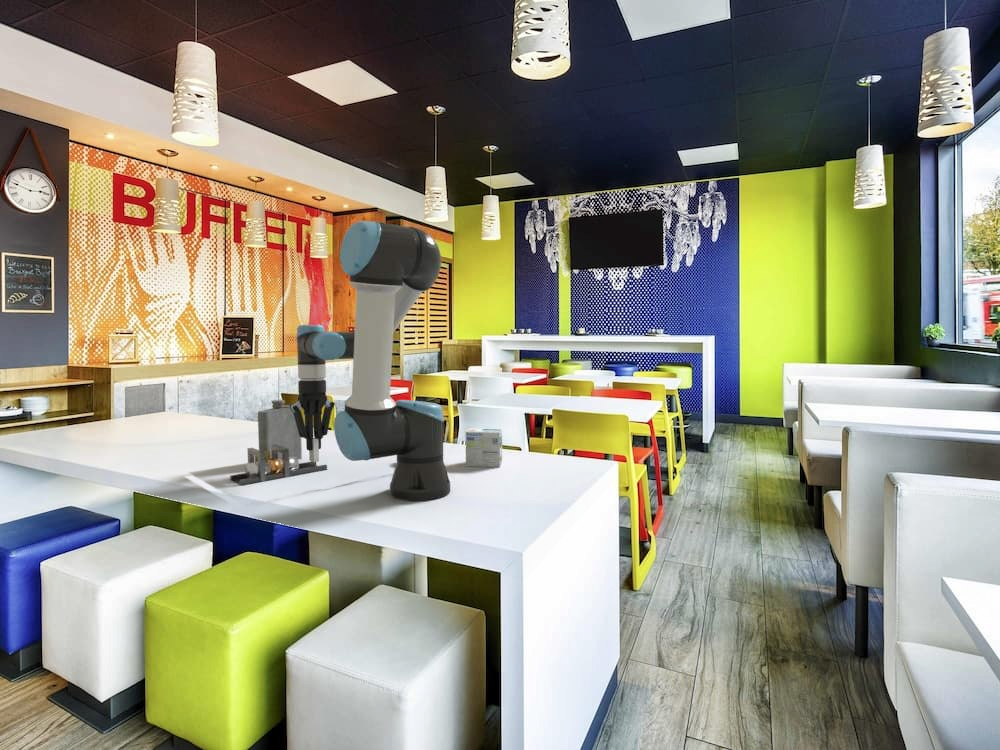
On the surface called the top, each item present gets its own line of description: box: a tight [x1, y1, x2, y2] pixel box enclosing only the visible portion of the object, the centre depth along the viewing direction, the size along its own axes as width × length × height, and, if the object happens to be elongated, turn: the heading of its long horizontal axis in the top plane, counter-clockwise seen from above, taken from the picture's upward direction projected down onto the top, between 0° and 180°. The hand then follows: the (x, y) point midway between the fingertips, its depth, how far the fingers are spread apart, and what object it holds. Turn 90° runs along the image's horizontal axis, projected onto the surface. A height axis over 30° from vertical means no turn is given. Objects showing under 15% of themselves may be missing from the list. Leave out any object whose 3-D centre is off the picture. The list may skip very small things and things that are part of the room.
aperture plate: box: [254, 451, 270, 462], centre depth 156 cm, size 4×1×7 cm, turn 136°
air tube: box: [244, 456, 300, 479], centre depth 153 cm, size 13×4×5 cm, turn 135°
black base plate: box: [229, 461, 329, 487], centre depth 155 cm, size 24×8×2 cm, turn 135°
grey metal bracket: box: [246, 444, 290, 483], centre depth 152 cm, size 8×8×8 cm
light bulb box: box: [465, 428, 503, 468], centre depth 171 cm, size 11×7×11 cm, turn 84°
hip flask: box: [257, 399, 303, 461], centre depth 167 cm, size 16×4×20 cm, turn 159°
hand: (314, 460), depth 161 cm, fingers closed
